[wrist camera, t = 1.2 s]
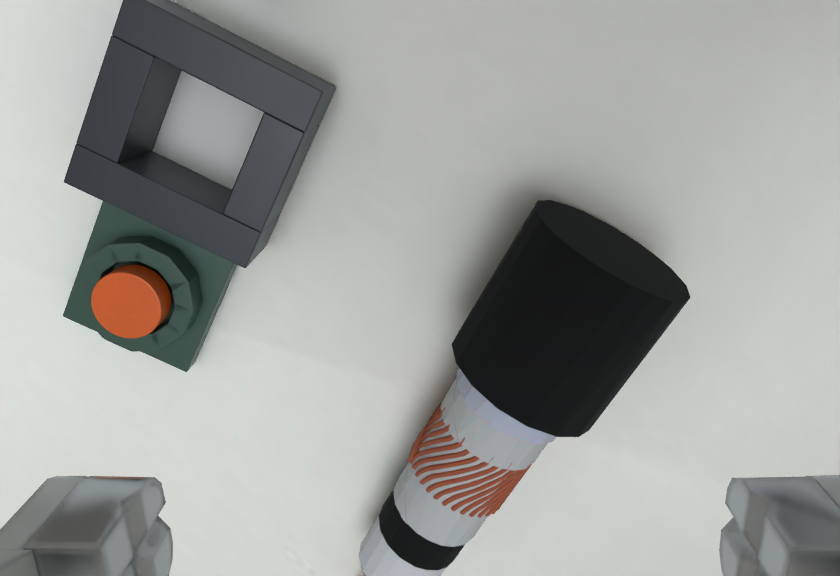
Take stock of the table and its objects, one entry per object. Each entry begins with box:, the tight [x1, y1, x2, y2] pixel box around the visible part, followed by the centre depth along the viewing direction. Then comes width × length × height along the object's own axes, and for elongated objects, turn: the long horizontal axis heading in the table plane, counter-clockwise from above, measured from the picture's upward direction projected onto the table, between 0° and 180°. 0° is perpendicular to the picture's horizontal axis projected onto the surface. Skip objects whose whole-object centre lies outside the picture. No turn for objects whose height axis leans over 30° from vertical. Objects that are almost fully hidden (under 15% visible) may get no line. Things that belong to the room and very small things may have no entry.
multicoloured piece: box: [359, 200, 690, 576], centre depth 46 cm, size 10×34×10 cm, turn 153°
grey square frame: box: [64, 0, 336, 268], centre depth 42 cm, size 12×12×5 cm
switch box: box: [63, 201, 237, 372], centre depth 46 cm, size 9×9×4 cm
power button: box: [91, 264, 171, 338], centre depth 44 cm, size 4×4×2 cm
